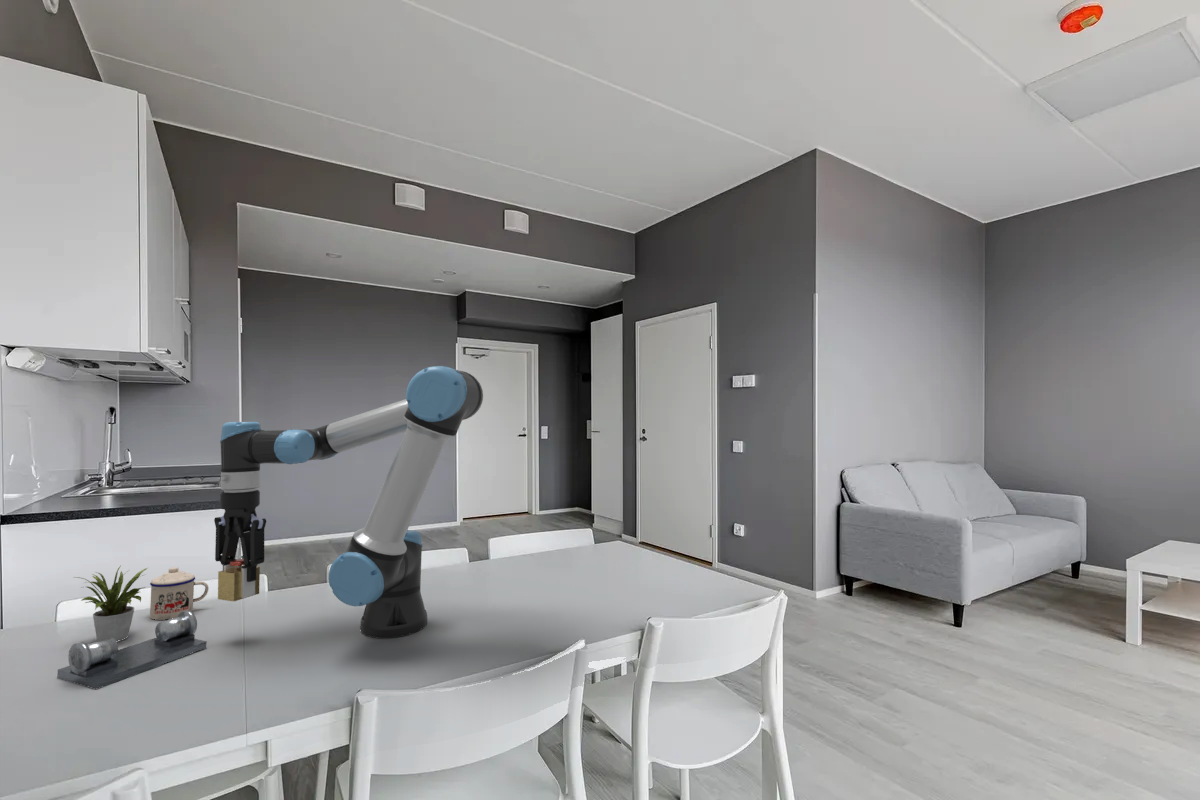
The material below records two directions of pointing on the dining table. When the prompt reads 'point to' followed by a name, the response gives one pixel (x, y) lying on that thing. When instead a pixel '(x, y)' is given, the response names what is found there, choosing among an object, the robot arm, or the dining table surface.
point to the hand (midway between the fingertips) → (239, 594)
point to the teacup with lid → (173, 594)
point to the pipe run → (131, 653)
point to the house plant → (113, 607)
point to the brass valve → (234, 581)
